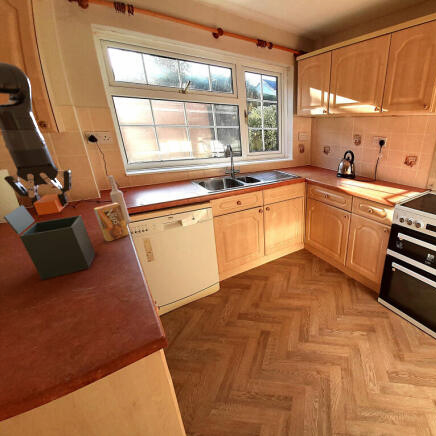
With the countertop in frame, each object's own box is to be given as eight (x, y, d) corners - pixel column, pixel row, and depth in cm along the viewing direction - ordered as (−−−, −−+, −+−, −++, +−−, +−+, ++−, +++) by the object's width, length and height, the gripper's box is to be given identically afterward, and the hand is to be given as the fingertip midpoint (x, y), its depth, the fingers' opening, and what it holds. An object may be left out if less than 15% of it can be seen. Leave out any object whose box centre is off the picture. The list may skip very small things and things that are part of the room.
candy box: (125, 232, 116) (116, 202, 110) (129, 234, 114) (120, 203, 108) (104, 239, 110) (92, 208, 104) (108, 242, 107) (96, 209, 102)
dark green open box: (41, 279, 83) (19, 236, 76) (53, 262, 93) (35, 222, 87) (89, 268, 88) (71, 227, 82) (95, 252, 99) (80, 215, 93)
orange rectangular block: (38, 215, 67) (33, 203, 66) (49, 206, 75) (44, 195, 73) (59, 212, 69) (54, 200, 68) (68, 203, 77) (63, 192, 75)
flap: (19, 234, 76) (17, 234, 76) (34, 220, 87) (33, 221, 87) (4, 216, 73) (3, 217, 73) (22, 204, 84) (21, 205, 84)
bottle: (119, 225, 124) (103, 177, 115) (119, 222, 128) (104, 175, 119) (131, 223, 127) (116, 176, 117) (131, 220, 131) (117, 174, 121)
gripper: (65, 144, 71) (86, 200, 78) (-3, 148, 65) (26, 208, 72) (58, 146, 65) (80, 206, 72) (-18, 151, 59) (14, 216, 66)
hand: (53, 207), depth 72 cm, fingers closed on orange rectangular block, 4 cm apart
